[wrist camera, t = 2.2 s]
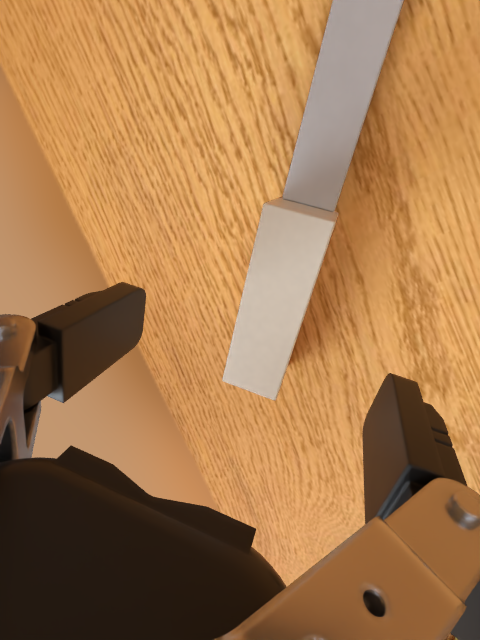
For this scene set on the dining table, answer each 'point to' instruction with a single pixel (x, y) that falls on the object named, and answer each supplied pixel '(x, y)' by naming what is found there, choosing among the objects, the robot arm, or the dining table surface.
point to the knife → (308, 195)
